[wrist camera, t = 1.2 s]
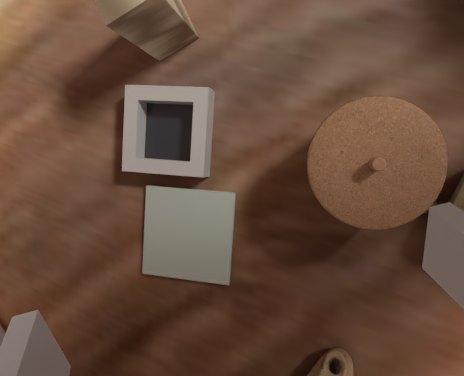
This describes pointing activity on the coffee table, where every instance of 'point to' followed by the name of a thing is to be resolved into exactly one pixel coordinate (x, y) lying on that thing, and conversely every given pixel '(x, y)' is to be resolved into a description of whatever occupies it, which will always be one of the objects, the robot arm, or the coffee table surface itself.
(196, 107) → the stone well
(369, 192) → the lidded jar
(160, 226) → the felt pad
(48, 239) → the coffee table surface
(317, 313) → the coffee table surface
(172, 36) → the maple block
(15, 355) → the robot arm
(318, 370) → the pottery oil lamp
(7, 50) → the coffee table surface
